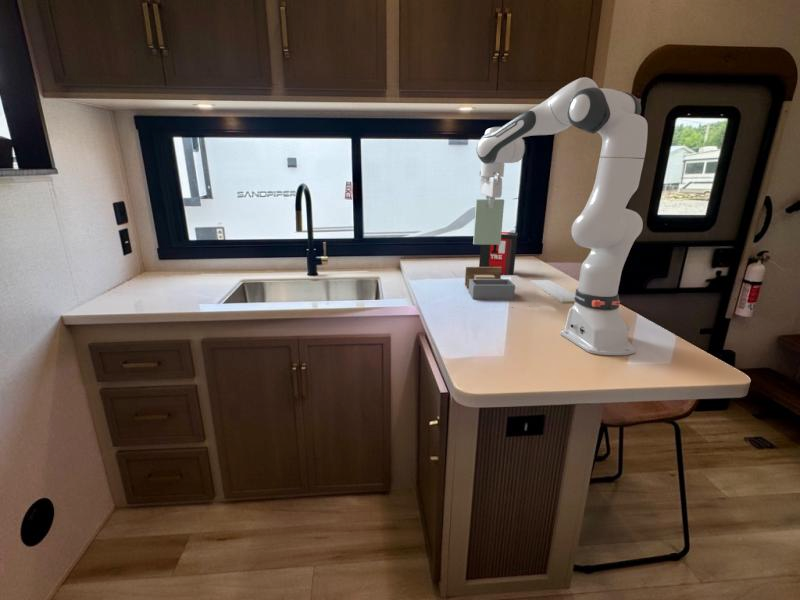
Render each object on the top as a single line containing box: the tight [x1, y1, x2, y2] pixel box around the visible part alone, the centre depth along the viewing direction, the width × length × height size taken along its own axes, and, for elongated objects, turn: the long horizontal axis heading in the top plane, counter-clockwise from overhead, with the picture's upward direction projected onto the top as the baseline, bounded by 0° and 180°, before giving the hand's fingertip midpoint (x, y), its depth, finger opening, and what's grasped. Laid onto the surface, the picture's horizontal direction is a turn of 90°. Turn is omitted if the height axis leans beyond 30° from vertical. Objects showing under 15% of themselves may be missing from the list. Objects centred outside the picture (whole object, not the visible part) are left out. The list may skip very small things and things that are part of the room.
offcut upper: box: [474, 275, 495, 279], centre depth 170 cm, size 3×8×3 cm, turn 92°
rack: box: [464, 266, 502, 292], centre depth 172 cm, size 10×15×10 cm, turn 92°
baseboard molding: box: [529, 279, 575, 304], centre depth 175 cm, size 31×3×12 cm
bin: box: [467, 278, 516, 300], centre depth 163 cm, size 9×16×7 cm, turn 92°
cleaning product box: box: [478, 231, 519, 276], centre depth 201 cm, size 16×9×20 cm, turn 74°
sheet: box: [472, 198, 505, 246], centre depth 167 cm, size 2×11×18 cm, turn 92°
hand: (489, 208), depth 165 cm, fingers closed on sheet, 2 cm apart
